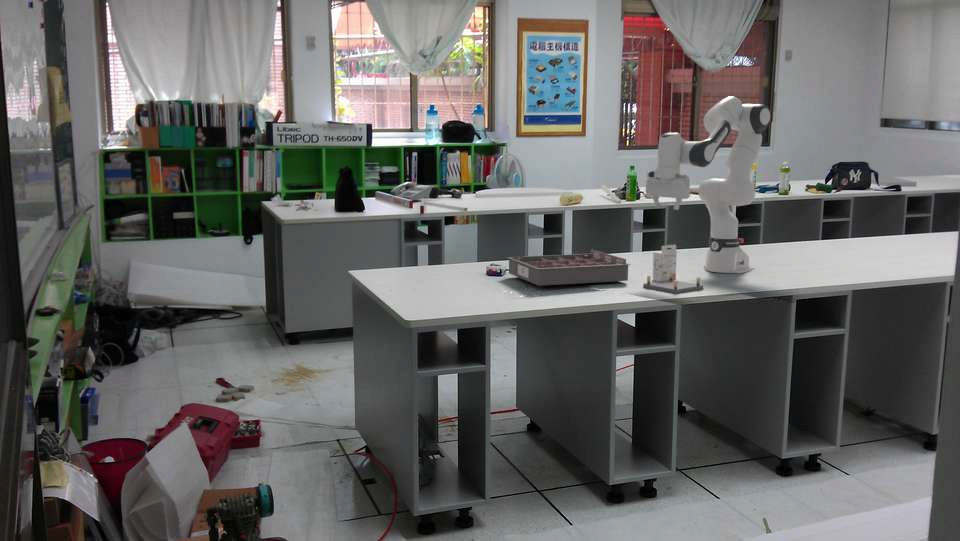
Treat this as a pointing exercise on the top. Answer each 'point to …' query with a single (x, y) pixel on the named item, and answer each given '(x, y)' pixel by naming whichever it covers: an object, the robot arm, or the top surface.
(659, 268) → the ink cartridge box
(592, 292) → the top surface
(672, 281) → the chassis plate
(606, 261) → the organizer tray
